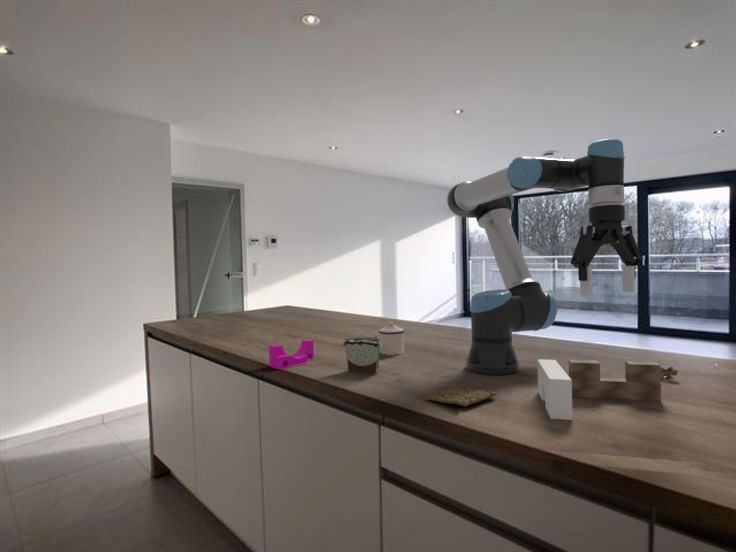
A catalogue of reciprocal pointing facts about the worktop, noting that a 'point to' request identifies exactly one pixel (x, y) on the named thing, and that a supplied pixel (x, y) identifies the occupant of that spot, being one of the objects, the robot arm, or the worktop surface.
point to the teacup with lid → (391, 339)
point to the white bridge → (555, 389)
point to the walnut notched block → (616, 381)
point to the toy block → (283, 360)
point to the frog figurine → (667, 373)
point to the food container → (362, 354)
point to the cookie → (462, 396)
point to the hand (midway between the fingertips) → (607, 293)
